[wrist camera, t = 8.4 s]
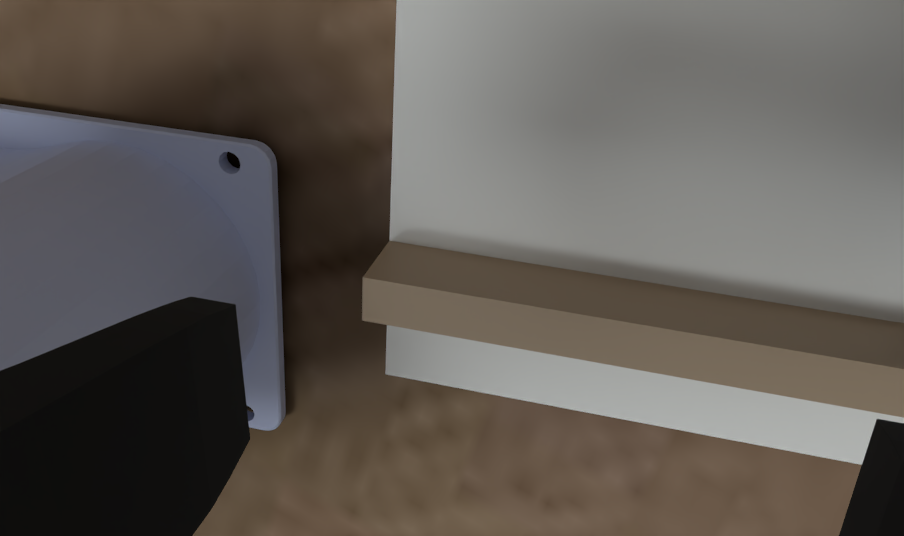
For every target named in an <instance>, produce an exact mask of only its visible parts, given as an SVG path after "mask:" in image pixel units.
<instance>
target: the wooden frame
mask: <svg viewBox="0 0 904 536" xmlns="http://www.w3.org/2000/svg"><path fill="white" fill-rule="evenodd" d="M362 321H367V322H373V323H379V324H384V325H387V337H386V370H385V374H387V375H392V376H398V377H403V378H408V379H413V380H419V381H424V382H429V383H434V384H440V385H445V386H450V387H455V388H461V389H466V390H471V391H476V392H482V393H487V394H492V395H497V396H503V397H508V398H513V399H519V400H524V401H529V402H534V403H540V404H545V405H550V406H555V407H561V408H566V409H571V410H576V411H582V412H587V413H592V414H597V415H603V416H608V417H613V418H619V419H624V420H629V421H634V422H640V423H645V424H650V425H655V426H661V427H666V428H671V429H676V430H682V431H687V432H692V433H697V434H703V435H708V436H713V437H719V438H724V439H729V440H734V441H740V442H745V443H750V444H755V445H761V446H766V447H771V448H776V449H782V450H787V451H792V452H797V453H803V454H808V455H813V456H818V457H824V458H829V459H834V460H840V461H845V462H850V463H855V464H861V465H862V463H863V460H864V457H865V454H866V451H867V448H868V445H869V442H870V438H871V435H872V432H873V429H874V426H875V423H876V420H877V419H882V420H887V421H893V422H899V423H904V0H397V5H396V38H395V72H394V105H393V138H392V171H391V204H390V237H389V242H388V243H387V245H386V246H385V247H384V249H383V250H382V252H381V253H380V254H379V256H378V257H377V258H376V260H375V261H374V262H373V264H372V265H371V267H370V268H369V269H368V271H367V272H366V273H365V275H364V276H363V285H362Z"/></svg>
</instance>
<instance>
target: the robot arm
mask: <svg viewBox="0 0 904 536" xmlns="http://www.w3.org/2000/svg"><path fill="white" fill-rule="evenodd" d="M227 152H231V153H233V154H235V155H236V156H237V158H238V159H239V162H240V168H236V167H234V166H232V165H231V164H230V163H229V162H228V159H227ZM247 406H249V407H250V408H251V409H252V410H253V412H250V411H248V410H247ZM285 414H286V404H285V376H284V348H283V319H282V291H281V263H280V235H279V207H278V178H277V162H276V157H275V155H274V153H273V152H272V150H271V149H270V148H269V147H268V146H267V145H266V144H264V143H262V142H259V141H257V140H251V139H244V138H237V137H230V136H223V135H216V134H209V133H202V132H195V131H188V130H181V129H174V128H167V127H160V126H153V125H146V124H138V123H131V122H124V121H117V120H110V119H103V118H96V117H89V116H82V115H75V114H68V113H61V112H54V111H47V110H40V109H33V108H26V107H19V106H12V105H5V104H0V536H192V535H193V534H194V532H195V531H196V530H197V528H198V527H199V526H200V524H201V523H202V521H203V520H204V519H205V517H206V516H207V514H208V513H209V512H210V510H211V509H212V507H213V506H214V504H215V502H216V500H217V499H218V497H219V495H220V493H221V492H222V490H223V488H224V486H225V485H226V483H227V481H228V480H229V478H230V476H231V474H232V472H233V470H234V468H235V467H236V465H237V463H238V461H239V459H240V457H241V455H242V453H243V451H244V450H245V448H246V446H247V444H248V442H249V440H250V433H249V427H250V428H255V429H260V430H265V431H271V430H274V429H277V427H278V426H279V425H280V424H281V422H282V421H283V420H284V418H285ZM839 536H904V423H899V422H893V421H887V420H882V419H877V420H876V423H875V426H874V429H873V432H872V435H871V438H870V442H869V445H868V448H867V451H866V454H865V457H864V460H863V463H862V466H861V469H860V473H859V476H858V479H857V482H856V485H855V488H854V491H853V494H852V497H851V500H850V504H849V507H848V510H847V513H846V516H845V519H844V522H843V525H842V528H841V531H840V535H839Z"/></svg>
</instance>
